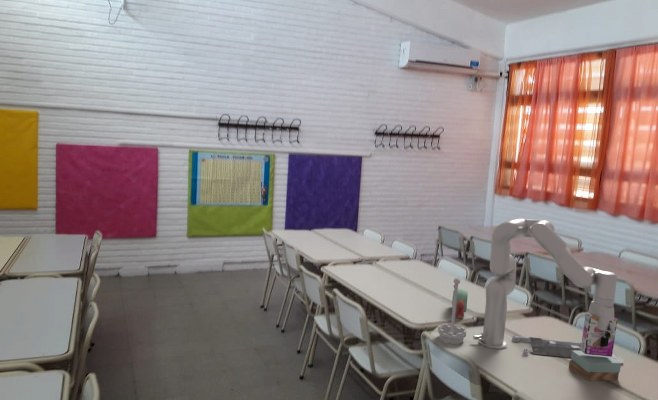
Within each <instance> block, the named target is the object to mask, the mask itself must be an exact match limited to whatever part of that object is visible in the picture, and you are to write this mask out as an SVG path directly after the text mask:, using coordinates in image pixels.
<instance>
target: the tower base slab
mask: <svg viewBox="0 0 658 400" xmlns="http://www.w3.org/2000/svg"><path fill="white" fill-rule="evenodd" d="M568 369H569V370H571V371H573V372H574V373H575V374H577V375H579V376H580V377H582V378H583V379H584V380H586V381H588V382H601V381H602V382H603V381H615V380H617V381H618V380H619V374H620V372H587V371H586V370H585V369H583V368H582V367H581V366H579V365H578V364H576V363H575V362H574V361H572V360H571V359H569V364H568Z"/></svg>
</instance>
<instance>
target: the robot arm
mask: <svg viewBox="0 0 658 400" xmlns="http://www.w3.org/2000/svg"><path fill="white" fill-rule="evenodd" d="M521 237H522V238H532V240H534V241H535V242H536V243H537V245H539V246H540V247H541V248H542V249H543V250H544V251H545V252H546V253H547V254H548V255H549V256H550V257H551V258H552V260H553V262H554V264H556V265H557V267H558V268H559V270H560V271H561V272H562V274H563V275H565V276H566V278H568V280H569V281H570V282H572V283H573V284H574V285H575V286H576V287H578V288H580V289H586V288H589V287H590V286H594V291H593V295H592V301H591V302H590V304H589V308H588V312H587V313H590V314H593V315H595V316H597V317H598V326H597V328H598V329H599V330H601V331H602V334H603V337H601V344H600V346H602V347H605V346H608V341H609V338H610V337H611V336H612V335H613V334H615V335H616V333H617V330H616V331H615V329H614V327H613V325H614V317H615V307H614V303H615V296H616V289H617V282H618V281H617V280H618V275H617V274H616V273H614V272H612V271H606V270H601V269H597V268H594V267H591V266H582V265H581V264H580V263H579V262H578V261H577V260H576V259H575V257H574V255H573V254H572V251H571V248H570V245H569V244H568V243H567V242H566V241H565V240H564V239H563V238H562V237H561V236H560V235H559V234H558V233H556V232H555V226H554V225H553V223H552V222H551V221H549V220H544V219H531V218H530V219H529V218H528V219H527V218H514V219H511V220H507V221H504V222H502V223H500V224H498V225H497V226H496V227H495V228H494V230H493V231H492V234H491V245H490V256H489V257H490V259H489V269H490V272H491V273H492V274H493V275H494V276H495V278H493V279H491V280H489V281H488V283H487V284H486V286H485V308H484V309H485V310H484V320H483V327H482V328H483V331H482V332H480V334H479V335H478V334H477V335H476V334H473V336H472V338H473V340H474V341H476V340H478V342H479V344H480V345H482V346H484V347H485V348H486V347H487V348H488V349H489V348H490V349H495V350H496V349H497V350H502V349H504V348H505V349H506V348H507V345H508V344H507V342H506V341H505V339H504V338H505V330H506V322H507V314H508V313H507V311H508V301H507V298H508V296H509V295H511V294H512V293H513V292H514V291H515V287H516V280H517V279H516V278H517V260H516V258H515V257H514V256H513V255H512V254H511V250H512V249H511V241H512V240H514V239H518V238H521ZM605 331H607V334H606V333H605Z"/></svg>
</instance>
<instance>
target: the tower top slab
mask: <svg viewBox="0 0 658 400" xmlns="http://www.w3.org/2000/svg"><path fill="white" fill-rule="evenodd" d="M570 360H572V361H574V362H575V363H576V364H578V365H579V366H581V367H582V368H583V369H585V370H586V371H587V372H619V373H621V368H622V367H621V366H622V363H620V362H619V361H617V360H616V359H614V358H612V357H610V356H600V355H590V354H584V353H583V352H582V351H573V350H572V354H571V358H570Z"/></svg>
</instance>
